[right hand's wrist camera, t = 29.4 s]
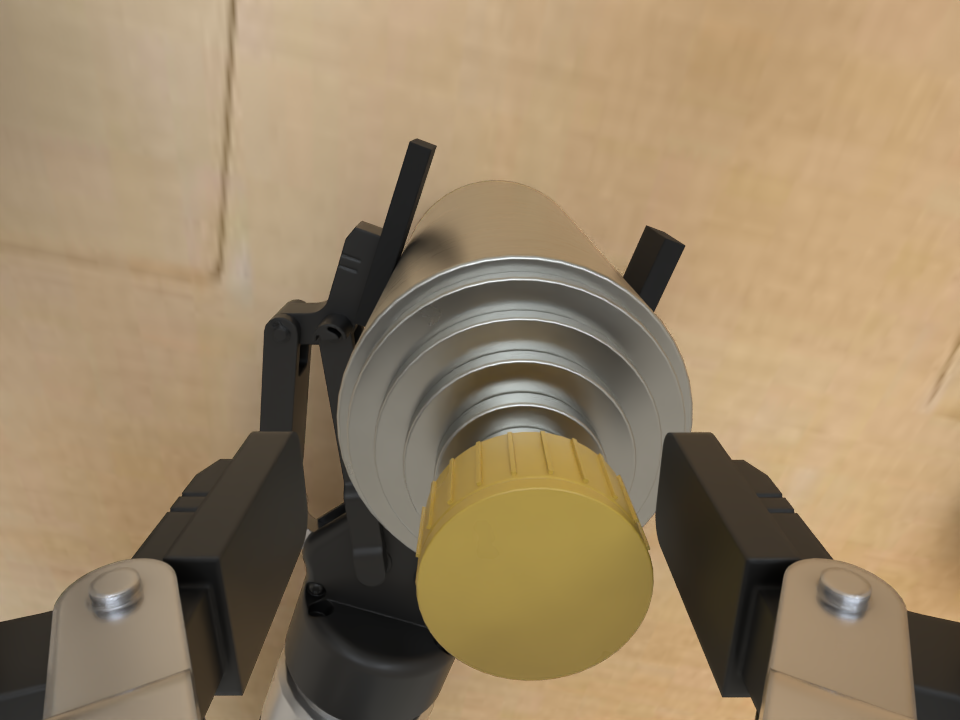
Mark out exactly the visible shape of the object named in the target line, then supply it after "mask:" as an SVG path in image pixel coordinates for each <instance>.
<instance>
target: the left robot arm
mask: <svg viewBox="0 0 960 720" xmlns="http://www.w3.org/2000/svg"><path fill="white" fill-rule="evenodd" d="M435 149H436V145H433V144H430V143H428V142H425V141H422V140H420V139H414V140H412V141H410V142H409V145H408V149H407V152H406V155H405V158H404V162H403V165H402V168H401V171H400V175H399V178H398V181H397V184H396V187H395V191H394V194H393V197H392V200H391V204H390V207H389V210H388V213H387V216H386V220H385V223H384V226H383V228H380V227H378V226H375V225H372V224H369V223H366V222H364V221H361V222H360V223H359V224H358V225H357V226H356V227H355V228H354V229H353V231H352V232H351V233H350V234H349V236H348V237H347V238H346V240H345V243H344V247H343V250H342V254H341V257H340V261H339V265H338V267H337V271H336V274H335V278H334V281H333V285H332V288H331V291H330V295H329V298H328V300H327V301H325V302H321V303H306V302H304V301H301V300H292V301H290V302H288V303H287V304H286V305H285V306H284V307H283V308H282V309H281V310H280V311H279V312H278V313H277V314H276V315H275V316H274V317H273V318H272V319H271V320H270V321H269V322H268V323H267V324H266V326H265V330H264V348H263V371H262V394H261V417H260V432H296V433H297V434H298V436H299V439H300V444H301V453H302V462H303V457H304V443H305V429H306V414H307V400H308V386H309V372H310V357H311V345H319V346H320V351H321V357H322V362H323V368H324V373H325V379H326V385H327V390H328V396H329V401H330V407H331V412H332V418H333V423H334V429H335V434H336V440H337V445H338V451H339V456H340V462H341V467H342V473H343V478H344V503H342V504H340V505H339V506H337V507H336V508H334V509H332V510H331V511H329V512H327V513H326V514H324V515H323V516H321V517H319V518H318V519H315V518H313V517H312V516H311V515H310V514H309V512H308V522H307V531H306V537H305V541H304V544H303V547H302V549H303V551H302V553H303V559H304V562H305V565H306V572H307V573H306V578H305V581H304V584H303V587H302V590H301V593H300V596H299V599H298V602H297V605H296V608H295V611H294V614H293V617H292V620H291V623H290V626H289V629H288V632H287V636H286V640H285V644H284V647H283V649H282V652H281V654H280V657H279V660H278V663H277V666H276V669H275V672H274V675H273V678H272V681H271V684H270V687H269V690H268V693H267V696H266V698H265V701H264V704H263V707H262V713H261V717H260V720H428V718H429V715H430V713H431V711H432V709H433V706H434V701H435V700H436V698H437V697H438V695H439V693H440V690H441V688H442V686H443V684H444V682H445V679H446V677H447V675H448V673H449V670H450V668H451V666H452V664H453V662H454V659H455V657H454V656H453V655H451V654H450V653H449V652H447V651H446V650H445V649H444V648H443V647H442V646H441V645H440V644H439V643H438V642H437V640H436V639H435V638H434V636H433V635H432V634H431V633H430V631H429V629H428V627H427V625H426V624H425V622H424V620H423V617H422V615H421V612H420V609H419V605H418V600H417V592H416V583H415V581H416V573H417V565H418V557H416V552H414V551H412V550H411V549H409V548H408V547H406V546H405V545H404V544H403V543H402V542H400V541H399V540H398V539H397V538H396V537H395V536H393V535H392V534H391V533H390V532H389V531H388V530H387V529H386V528H385V527H384V526H383V525H382V524H381V523H380V522H379V521H378V520H377V519H376V518H375V517H374V515H373V514H372V513H371V512H370V511H369V509H368V508H367V506H366V505H365V504H364V502H363V501H362V499H361V498H360V497H359V495H358V493H357V491H356V489H355V487H354V485H353V483H352V482H351V480H350V478H349V475H348V473H347V470H346V467H345V464H344V461H343V459H342V455H341V450H340V445H339V440H338V430H337V407H338V396H339V391H340V387H341V383H342V378H343V374H344V371H345V369H346V366H347V364H348V361H349V359H350V356H351V354H352V352H353V350H354V348H355V346H356V344H357V342H358V340H359V338H360V336H361V334H362V332H363V330H364V327H365V326H366V324H367V322H368V320H369V318H370V316H371V314H372V312H373V310H374V309H375V307H376V305H377V303H378V301H379V299H380V297H381V295H382V293H383V291H384V289H385V287H386V285H387V283H388V281H389V279H390V277H391V275H392V273H393V271H394V269H395V267H396V265H397V263H398V261H399V259H400V257H401V254H402V251H403V248H404V245H405V242H406V239H407V236H408V233H409V230H410V227H411V223H412V220H413V217H414V214H415V211H416V208H417V205H418V202H419V199H420V196H421V193H422V190H423V186H424V183H425V180H426V177H427V174H428V171H429V168H430V165H431V162H432V159H433V156H434V153H435ZM684 248H685V245H684V244H682V243H680V242H679V241H677V240H676V239H674V238H673V237H671V236H670V235H668V234H666V233H665V232H663V231H660V230H657V229H655V228H652V227H649V226H647V225H646V227H645V229H644V232H643V234H642V236H641V238H640V241H639V243H638V245H637V247H636V249H635V252H634V254H633V256H632V258H631V261H630V263H629V265H628V267H627V270H626V272H625V274H624V276H623V278H624V279H625V280H626V282H627V283H628V284H629V285H630V286H631V287H632V288H633V289H634V291H635V292H636V293H637V294H638V295H639V296H640V297H641V298H642V300H643V301H644V302H645V303H646V304H647V305H648V306H649V307H650V309H651V310H652V311H653V312H654V311H655V309H656V307H657V304H658V302H659V300H660V298H661V296H662V294H663V292H664V290H665V288H666V286H667V283H668V281H669V279H670V277H671V275H672V273H673V271H674V269H675V267H676V264H677V262H678V260H679V258H680V256H681V254H682V252H683V250H684ZM306 498H307V505H308V496H307V494H306Z"/></svg>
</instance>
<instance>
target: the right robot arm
mask: <svg viewBox="0 0 960 720" xmlns="http://www.w3.org/2000/svg"><path fill="white" fill-rule="evenodd" d="M307 522H308V508H307V498H306V489H305V480H304V471H303V462H302V453H301V444H300V439H299V436H298V434H297V433H296V432H252V433H251V434H250V435H249V436H248V437H247V439H246V440H245V442H244V443H243V445H242V446H241V447H240V449H239V450H238V452H237V453H236V454H235V456H234V457H233V459H220V460H218V461H217V462H215V463H214V464H212V465H211V466H209V467H207V468H206V469H204V470H203V471H201V472H200V473H198V474H197V475H196V476H195V477H194V478H193V480H192V481H191V482H190V483H189V485H188V486H187V487H186V489H185V490H184V491H183V493H182V497H179V498H178V499H177V500H176V502H175V503H174V504H173V505H172V507H171V508H170V512H167V513H166V515H165V516H164V517H163V518H162V520H161V521H160V522H159V524H158V525H157V526H156V527H155V529H154V530H153V531H152V533H151V534H150V535H149V537H148V538H147V539H146V540H145V542H144V543H143V544H142V546H141V547H140V548H139V550H138V551H137V552H136V553H135V555H134V556H133V557H132V559H129V560H123V561H119V562H115V563H112V564H108V565H105V566H103V567H100V568H98V569H96V570H94V571H92V572H90V573H88V574H86V575H84V576H83V577H81V578H79V579H78V580H76V581H75V582H74V583H73V584H71V585H70V586H69V587H68V588H67V589H66V590H65V591H64V592H63V593H62V594H61V595H60V597H59V598H58V600H57V602H56V603H55V606H54V610H53V611H49V612H45V613H41V614H36V615H31V616H27V617H22V618H17V619H13V620H8V621H3V622H0V720H205V715H206V712H207V710H208V708H209V706H210V704H211V701H212V699H213V697H214V695H243V693H244V690H245V688H246V685H247V683H248V680H249V678H250V675H251V673H252V670H253V668H254V666H255V663H256V661H257V658H258V656H259V653H260V651H261V648H262V646H263V643H264V641H265V638H266V636H267V633H268V631H269V628H270V626H271V623H272V621H273V619H274V616H275V614H276V611H277V609H278V606H279V604H280V601H281V599H282V596H283V594H284V591H285V589H286V586H287V584H288V581H289V579H290V576H291V574H292V572H293V569H294V567H295V564H296V562H297V559H298V557H299V554H300V552H301V549H302V547H303V544H304V541H305V537H306V531H307ZM656 530H657V536H658V541H659V544H660V547H661V549H662V552H663V554H664V557H665V559H666V561H667V564H668V566H669V569H670V571H671V574H672V576H673V578H674V581H675V583H676V586H677V588H678V591H679V593H680V595H681V598H682V600H683V603H684V605H685V608H686V610H687V613H688V615H689V617H690V620H691V622H692V625H693V627H694V630H695V632H696V634H697V637H698V639H699V642H700V644H701V647H702V649H703V651H704V654H705V656H706V659H707V661H708V664H709V666H710V668H711V671H712V673H713V676H714V678H715V681H716V683H717V686H718V688H719V690H720V693H721V695H722V697H751V699H752V701H753V703H754V705H755V707H756V710H757V711H756V715H755V720H960V623H959V622H955V621H950V620H945V619H941V618H936V617H931V616H927V615H922V614H918V613H914V612H910V611H907V610H906V606H905V603H904V602H903V600H902V598H901V597H900V595H899V594H898V593H897V592H896V591H895V590H894V589H893V588H892V587H891V586H890V585H889V584H887V583H886V582H885V581H884V580H882V579H881V578H879V577H877V576H876V575H874V574H872V573H870V572H868V571H866V570H864V569H862V568H860V567H857V566H855V565H852V564H848V563H845V562H841V561H837V560H833V558H832V557H831V556H830V555H829V553H828V552H827V551H826V550H825V548H824V547H823V546H822V544H821V543H820V542H819V541H818V539H817V538H816V537H815V535H814V534H813V533H812V532H811V530H810V529H809V528H808V526H807V525H806V524H805V523H804V521H803V520H802V519H801V518H800V516H799V515H798V514H797V513H794V509H793V507H792V506H791V505H790V503H789V502H788V501H787V500H786V498H782V493H781V492H780V491H779V489H778V488H777V487H776V486H775V484H774V483H773V482H772V480H771V479H770V478H769V477H768V476H767V475H766V474H764V473H763V472H761V471H760V470H758V469H757V468H755V467H754V466H752V465H750V464H749V463H747V462H746V461H744V460H731V458H730V457H729V455H728V454H727V453H726V451H725V450H724V448H723V447H722V446H721V444H720V443H719V441H718V440H717V439H716V437H715V436H714V435H713V434H712V433H710V432H669V433H667V434H666V436H665V438H664V442H663V448H662V457H661V466H660V475H659V484H658V493H657V502H656Z"/></svg>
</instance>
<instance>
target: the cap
mask: <svg viewBox="0 0 960 720" xmlns="http://www.w3.org/2000/svg"><path fill="white" fill-rule="evenodd" d="M648 550H650V547H649V544H648V541H647V539H646V536H645V534H644V531H643V529H642V526H641V524H640V521H639V519H638V516H637V514H636V512H635V509H634V507H633V504H632V502H631V499H630V497H629V494H628V492H627V489H626V487H625V484H624V482H623V479H622V477H621V476H620V475H618V476H617V475H616V474H615V472H614V471H613V470H612V468H611V467H610V466H609V465H608V464H607V463H606V462H605V460H604V457H603V455H602V454H600V453H599V454H596V453H595V452H593V451H592V450H591V449H589V448H588V447H586V446H584V445H582V444H580V443H578V442H577V440H576V439H574V438H572V440H571V439H568V438H565V437H563V436H559V435H554V434H550V433H545V431H540V432H516V433H512V432H507V434H504V435H500V436H496V437H493V438H490V439H487V440H485V441H482V442H480V441H478V442H476V445H474V446H472V447H470V448H469V449H467V450H466V451H464V452H463V453H462V454H460V455H459V456H457V457H456V458H455V459H454V458H452V459H451V460H450V462H449V465H448V466H447V467H446V468H445V469H444V470H443V472H442V473H441V474H440V475H439V477H438V479H437V480H436V481H434V480H433V481H432V483H431V489H430V494H429V496H428V500H427V504H426V507H422V512H421V519H420V527H419V534H418V542H417V549H416V557H418V565H417V573H416V581H415V583H416V592H417V600H418V605H419V609H420V612H421V615H422V617H423V620H424V622H425V624H426V625H427V627H428V629H429V631H430V633H431V634H432V635H433V636H434V638H435V639H436V640H437V642H438V643H439V644H440V645H441V646H442V647H443V648H444V649H445V650H446V651H447V652H449V653H450V654H451V655H453V656H454V657H455V658H457V659H458V660H459V661H461V662H463V663H465V664H466V665H468V666H470V667H472V668H474V669H477V670H479V671H481V672H484V673H487V674H490V675H493V676H497V677H502V678H507V679H514V680H547V679H555V678H560V677H565V676H569V675H572V674H575V673H578V672H581V671H584V670H586V669H588V668H591V667H593V666H595V665H597V664H599V663H600V662H602V661H604V660H605V659H607V658H609V657H610V656H611V655H613V654H614V653H615V652H617V651H618V650H619V649H620V648H621V647H622V646H623V645H624V644H625V643H627V642H628V641H629V639H630V638H631V637H632V636H633V634H634V633H635V632H636V631H637V629H638V628H639V626H640V624H641V623H642V621H643V620H644V617H645V615H646V613H647V611H648V608H649V605H650V601H651V597H652V592H653V583H654V580H653V567H652V563H651V558H650V555H649V552H648Z"/></svg>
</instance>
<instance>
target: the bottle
mask: <svg viewBox="0 0 960 720" xmlns="http://www.w3.org/2000/svg"><path fill="white" fill-rule="evenodd" d="M691 428H692V395H691V388H690V381H689V377H688V374H687V370H686V367H685V364H684V360H683V358H682V356H681V354H680V351H679V349H678V347H677V345H676V343H675V341H674V339H673V337H672V336H671V334H670V333H669V331H668V330H667V328H666V327H665V325H664V324H663V322H662V321H661V320H660V319H659V317H658V316H657V315H656V314H655V313H654V312H653V311H652V310H651V309H650V307H649V306H648V305H647V304H646V303H645V302H644V301H643V300H642V298H641V297H640V296H639V295H638V294H637V293H636V292H635V291H634V289H633V288H632V287H631V286H630V285H629V284H628V283H627V282H626V280H625V279H624V278H623V277H622V276H621V275H620V274H619V273H618V272H617V270H616V269H615V268H614V267H613V266H612V265H611V264H610V263H609V261H608V260H607V259H606V258H605V257H604V256H603V255H602V254H601V253H600V251H599V250H598V249H597V248H596V247H595V246H594V245H593V244H592V242H591V241H590V240H589V239H588V238H587V237H586V236H585V235H584V233H583V232H582V231H581V230H580V229H579V228H578V227H577V226H576V225H575V223H574V222H573V221H572V220H571V219H570V218H569V217H568V216H567V214H566V213H565V212H564V211H563V210H562V209H561V208H560V207H559V206H558V205H557V204H556V203H555V202H554V201H553V200H551V199H550V198H549V197H547V196H546V195H544V194H542V193H541V192H539V191H537V190H535V189H533V188H531V187H528V186H525V185H522V184H519V183H514V182H508V181H484V182H477V183H473V184H469V185H466V186H464V187H461V188H459V189H456V190H454V191H453V192H451V193H449V194H447V195H446V196H444V197H443V198H442V199H440V200H439V201H438V202H436V203H435V204H434V205H433V206H432V207H431V208H430V209H429V210H428V211H427V212H426V213H425V215H424V216H423V217H422V219H421V220H420V221H419V223H418V225H417V227H416V228H415V230H414V232H413V234H412V236H411V238H410V240H409V242H408V244H407V246H406V248H405V250H404V251H403V253H402V255H401V257H400V259H399V261H398V263H397V265H396V267H395V269H394V271H393V273H392V275H391V277H390V279H389V281H388V283H387V285H386V287H385V289H384V291H383V293H382V295H381V297H380V299H379V301H378V303H377V305H376V307H375V309H374V310H373V312H372V314H371V316H370V318H369V320H368V322H367V324H366V326H365V328H364V330H363V332H362V334H361V336H360V338H359V340H358V342H357V344H356V346H355V348H354V350H353V352H352V354H351V356H350V359H349V361H348V364H347V366H346V369H345V371H344V374H343V378H342V383H341V387H340V391H339V396H338V407H337V430H338V440H339V445H340V450H341V455H342V459H343V461H344V464H345V467H346V470H347V473H348V475H349V478H350V480H351V482H352V483H353V485H354V487H355V489H356V491H357V493H358V495H359V497H360V498H361V499H362V501H363V502H364V504H365V505H366V506H367V508H368V509H369V511H370V512H371V513H372V514H373V515H374V517H375V518H376V519H377V520H378V521H379V522H380V523H381V524H382V525H383V526H384V527H385V528H386V529H387V530H388V531H389V532H390V533H391V534H392V535H393V536H395V537H396V538H397V539H398V540H399V541H400V542H402V543H403V544H404V545H405V546H406V547H408V548H409V549H411V550H412V551H414V552H416V549H417V542H418V534H419V527H420V519H421V512H422V507H426V504H427V500H428V496H429V494H430V489H431V483H432V481H433V480H434V481H436V480H437V479H438V477H439V475H440V474H441V473H442V472H443V470H444V469H445V468H446V467H447V466H448V465H449V462H450V460H451V459H452V458H454V459H455V458H456V457H457V456H459V455H460V454H462V453H463V452H464V451H466V450H467V449H469V448H470V447H472V446H474V445H476V442H478V441H480V442H482V441H485V440H487V439H490V438H493V437H496V436H500V435H504V434H507V432H512V433H516V432H540V431H545V433H550V434H554V435H559V436H563V437H565V438H568V439H571V440H572V438H574V439H576V440H577V442H578V443H580V444H582V445H584V446H586V447H588V448H589V449H591V450H592V451H593V452H595V453H596V454H599V453H600V454H602V455H603V457H604V460H605V462H606V463H607V464H608V465H609V466H610V467H611V468H612V470H613V471H614V472H615V474H616V475H617V476H618V475H620V476H621V477H622V479H623V482H624V484H625V487H626V489H627V492H628V494H629V497H630V499H631V502H632V504H633V507H634V509H635V512H636V514H637V516H638V519H639V521H640V524H641V526H642V527H643V526H644V525H645V524H646V523H647V522H648V521H649V519H650V518H651V517H652V516H653V515H654V513H655V512H656V502H657V493H658V484H659V475H660V466H661V457H662V448H663V442H664V438H665V436H666V434H667V433H669V432H691Z"/></svg>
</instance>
